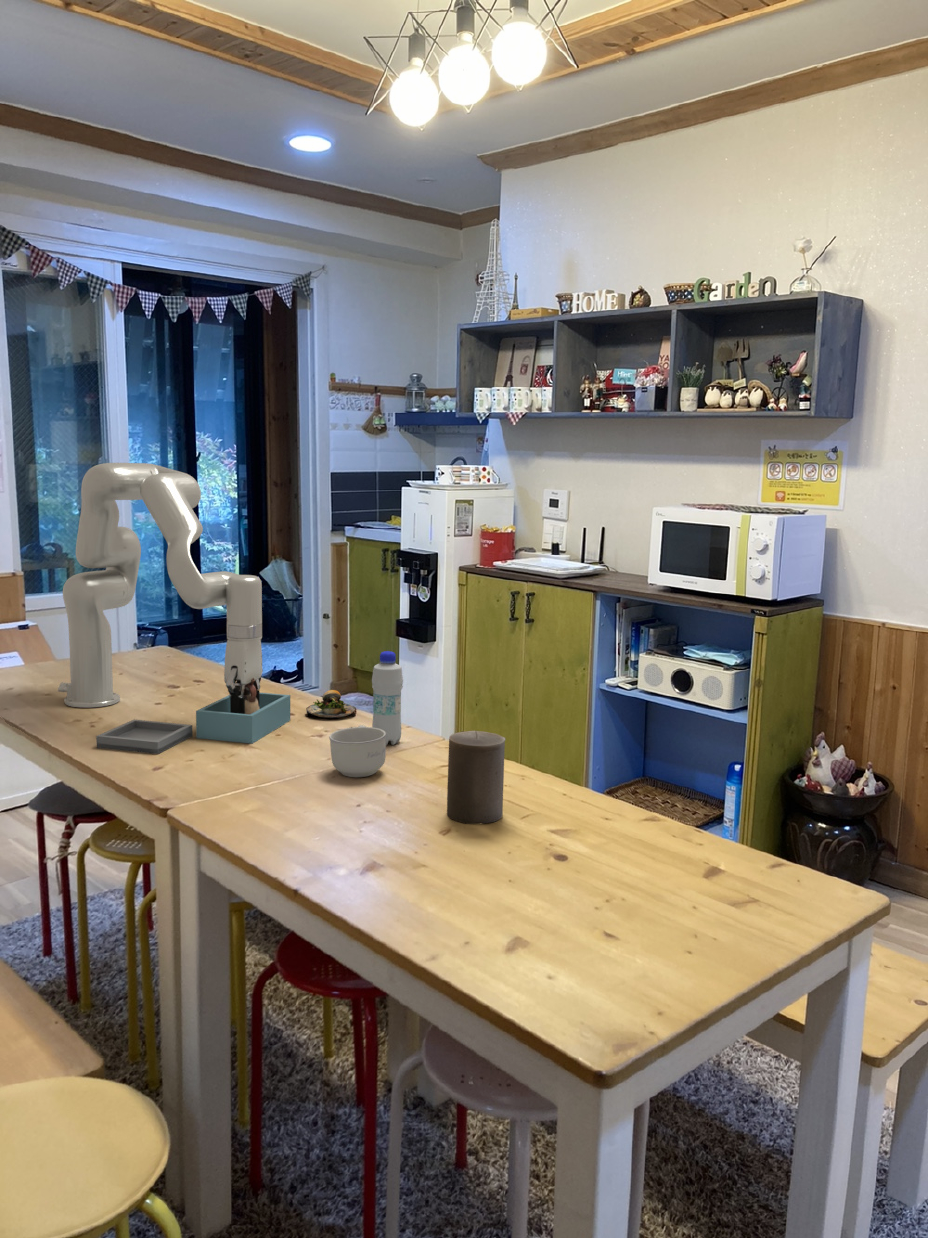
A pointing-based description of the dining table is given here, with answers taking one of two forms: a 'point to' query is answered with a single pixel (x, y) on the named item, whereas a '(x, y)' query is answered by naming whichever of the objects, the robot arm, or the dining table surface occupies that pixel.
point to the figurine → (250, 697)
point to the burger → (331, 706)
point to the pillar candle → (475, 777)
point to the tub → (242, 719)
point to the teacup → (358, 750)
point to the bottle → (387, 696)
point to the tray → (144, 736)
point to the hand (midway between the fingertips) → (245, 710)
